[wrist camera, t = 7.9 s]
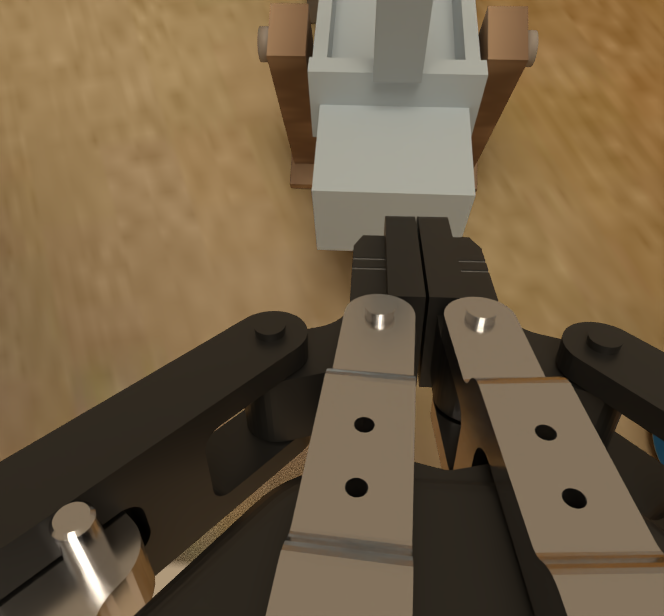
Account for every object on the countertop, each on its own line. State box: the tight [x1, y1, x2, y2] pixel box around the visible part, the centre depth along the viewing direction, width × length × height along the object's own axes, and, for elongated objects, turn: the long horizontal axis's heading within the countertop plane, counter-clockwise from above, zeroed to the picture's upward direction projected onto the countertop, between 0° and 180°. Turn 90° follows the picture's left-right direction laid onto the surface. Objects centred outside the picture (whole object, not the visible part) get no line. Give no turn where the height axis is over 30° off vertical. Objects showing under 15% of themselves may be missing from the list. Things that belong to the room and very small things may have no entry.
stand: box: [258, 3, 538, 192], centre depth 28 cm, size 12×5×11 cm, turn 87°
